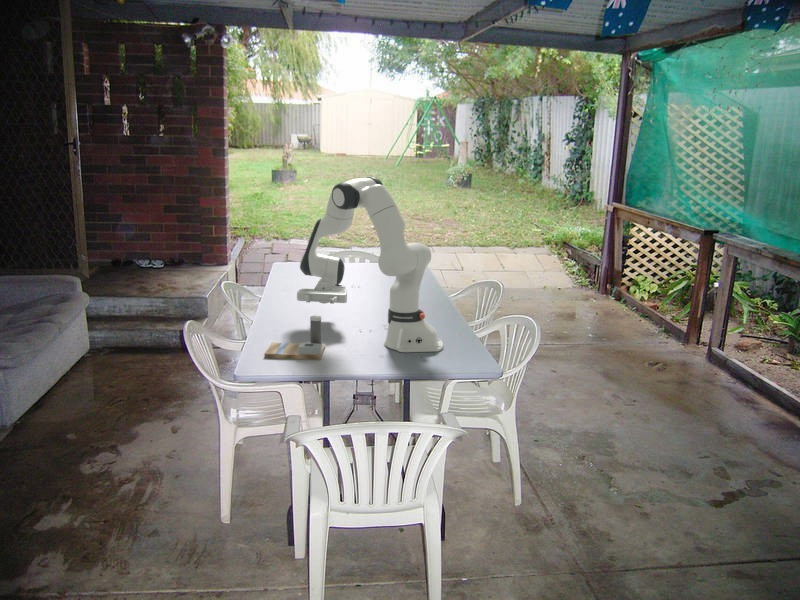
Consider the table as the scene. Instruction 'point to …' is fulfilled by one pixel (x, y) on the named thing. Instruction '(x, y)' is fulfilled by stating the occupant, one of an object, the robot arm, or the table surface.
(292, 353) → the board
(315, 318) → the peg
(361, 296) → the table surface
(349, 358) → the table surface
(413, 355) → the table surface
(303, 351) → the block
